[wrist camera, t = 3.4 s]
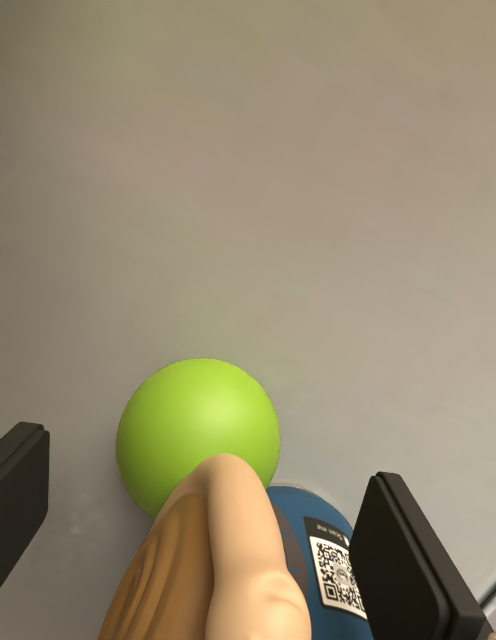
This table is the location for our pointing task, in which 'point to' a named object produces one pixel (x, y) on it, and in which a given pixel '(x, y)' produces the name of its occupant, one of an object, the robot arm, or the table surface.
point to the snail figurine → (204, 512)
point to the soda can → (320, 562)
